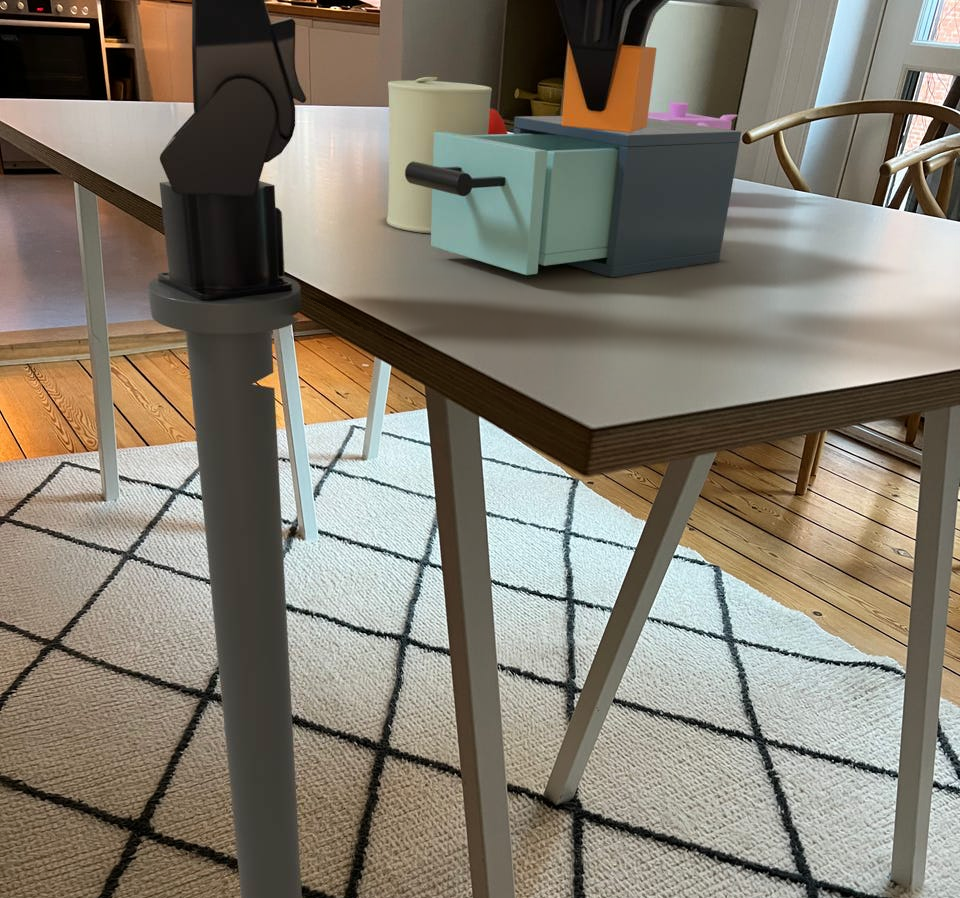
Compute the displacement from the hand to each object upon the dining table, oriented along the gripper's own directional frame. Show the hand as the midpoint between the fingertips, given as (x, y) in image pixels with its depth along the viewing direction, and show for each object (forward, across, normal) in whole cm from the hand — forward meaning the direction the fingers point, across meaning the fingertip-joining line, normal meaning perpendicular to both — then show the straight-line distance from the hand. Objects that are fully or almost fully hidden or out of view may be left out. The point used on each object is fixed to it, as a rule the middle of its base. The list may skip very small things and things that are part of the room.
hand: (605, 108), depth 64 cm
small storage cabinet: (+12, +20, +3) cm, 24 cm away
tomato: (+13, +56, +31) cm, 65 cm away
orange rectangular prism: (+1, 0, 0) cm, 1 cm away
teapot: (+13, +57, +6) cm, 59 cm away
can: (+13, +23, +21) cm, 33 cm away
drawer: (+12, +10, +9) cm, 17 cm away
